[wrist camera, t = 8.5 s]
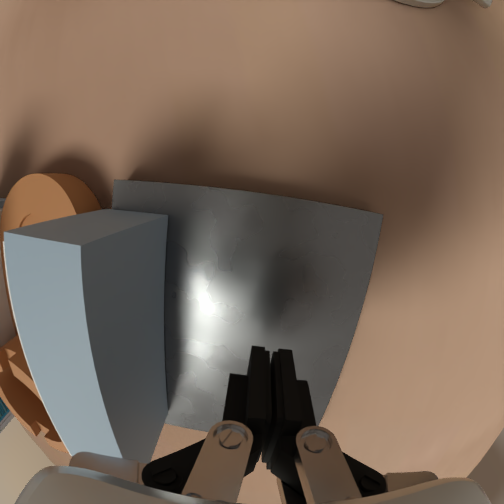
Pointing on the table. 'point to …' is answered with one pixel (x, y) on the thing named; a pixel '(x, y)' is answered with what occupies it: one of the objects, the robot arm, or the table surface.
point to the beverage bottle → (4, 415)
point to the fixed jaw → (4, 303)
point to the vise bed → (253, 287)
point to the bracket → (11, 354)
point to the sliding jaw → (94, 326)
